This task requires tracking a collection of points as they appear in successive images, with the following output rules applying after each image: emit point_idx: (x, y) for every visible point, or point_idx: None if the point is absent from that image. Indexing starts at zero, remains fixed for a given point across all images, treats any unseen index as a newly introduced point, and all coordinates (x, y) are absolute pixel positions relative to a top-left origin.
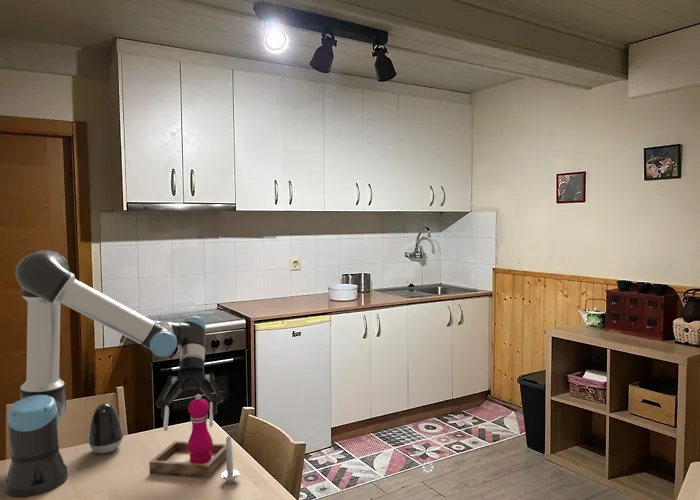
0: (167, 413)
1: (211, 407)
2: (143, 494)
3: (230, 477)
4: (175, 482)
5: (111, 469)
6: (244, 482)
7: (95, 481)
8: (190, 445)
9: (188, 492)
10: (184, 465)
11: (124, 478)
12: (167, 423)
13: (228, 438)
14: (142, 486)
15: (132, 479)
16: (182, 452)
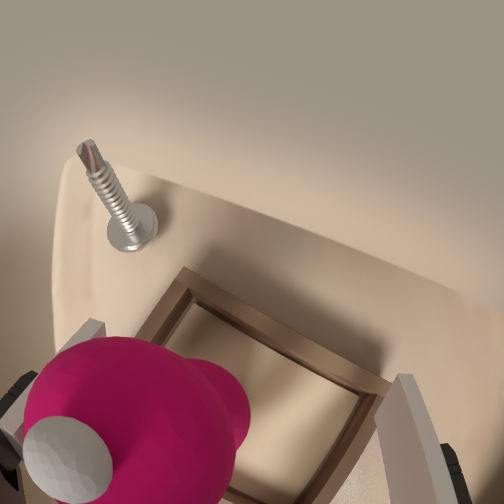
0: (417, 464)
1: (29, 391)
2: (380, 259)
3: (136, 205)
4: (297, 296)
5: (472, 438)
6: (108, 219)
7: (495, 373)
8: (238, 385)
9: (259, 222)
10: (269, 318)
11: (441, 374)
12: (388, 434)
13: (89, 141)
14: (391, 307)
15: (422, 362)
16: (268, 493)
